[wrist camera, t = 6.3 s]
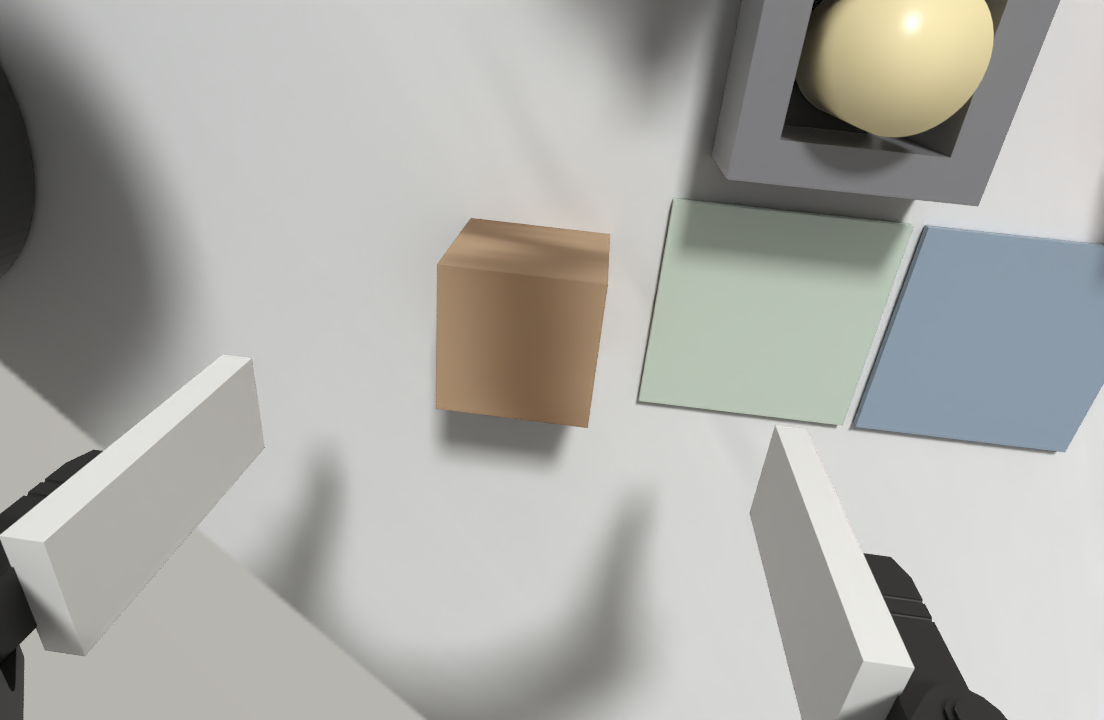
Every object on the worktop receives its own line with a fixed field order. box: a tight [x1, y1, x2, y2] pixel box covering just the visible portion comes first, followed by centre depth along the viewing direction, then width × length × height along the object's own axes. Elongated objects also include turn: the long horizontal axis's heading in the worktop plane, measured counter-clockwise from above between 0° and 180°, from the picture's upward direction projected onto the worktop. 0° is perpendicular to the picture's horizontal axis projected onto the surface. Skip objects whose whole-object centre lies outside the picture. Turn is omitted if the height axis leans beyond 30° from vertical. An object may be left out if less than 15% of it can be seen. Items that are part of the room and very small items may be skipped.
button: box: [796, 0, 994, 137], centre depth 17 cm, size 4×4×4 cm
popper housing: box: [711, 0, 1060, 206], centre depth 18 cm, size 7×7×4 cm
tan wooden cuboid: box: [436, 218, 610, 428], centre depth 22 cm, size 5×5×5 cm
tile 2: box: [853, 225, 1104, 452], centre depth 24 cm, size 8×8×1 cm
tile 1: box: [639, 198, 914, 425], centre depth 24 cm, size 8×8×1 cm
